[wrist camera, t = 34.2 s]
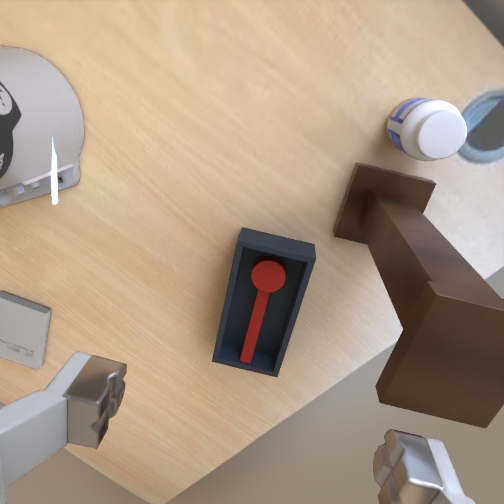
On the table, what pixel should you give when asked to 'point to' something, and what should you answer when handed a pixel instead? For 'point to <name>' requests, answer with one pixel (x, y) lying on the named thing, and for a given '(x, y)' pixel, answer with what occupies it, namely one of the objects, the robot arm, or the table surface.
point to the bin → (278, 306)
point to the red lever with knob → (262, 298)
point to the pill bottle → (426, 128)
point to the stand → (427, 302)
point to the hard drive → (23, 330)
